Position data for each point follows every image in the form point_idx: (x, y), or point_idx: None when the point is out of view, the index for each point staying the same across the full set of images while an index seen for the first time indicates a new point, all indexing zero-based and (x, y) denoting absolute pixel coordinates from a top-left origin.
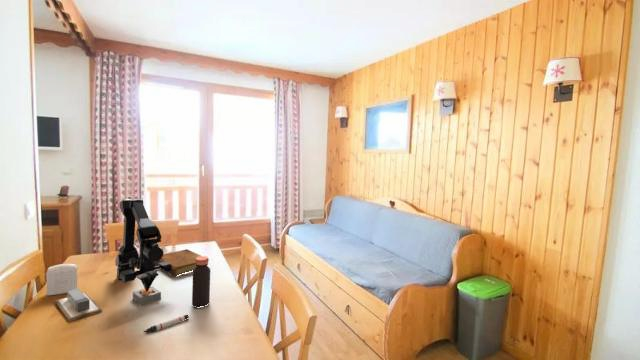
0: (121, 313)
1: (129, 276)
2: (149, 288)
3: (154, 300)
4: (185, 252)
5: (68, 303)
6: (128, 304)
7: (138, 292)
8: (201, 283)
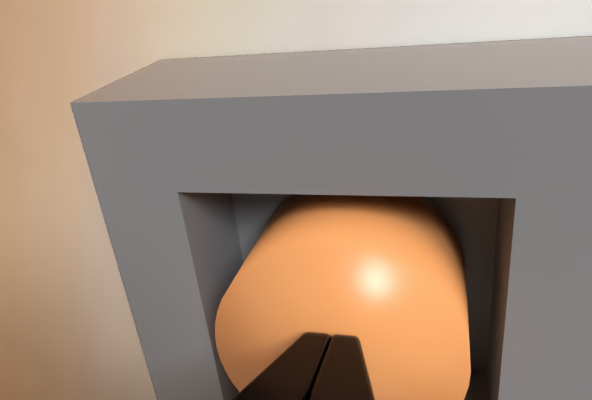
0: (13, 368)
1: None
2: (494, 179)
3: None
4: None
5: None
6: (86, 216)
7: (182, 220)
8: None
